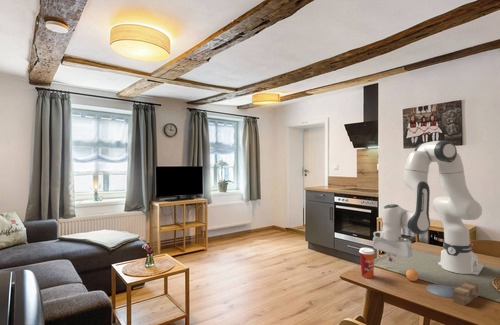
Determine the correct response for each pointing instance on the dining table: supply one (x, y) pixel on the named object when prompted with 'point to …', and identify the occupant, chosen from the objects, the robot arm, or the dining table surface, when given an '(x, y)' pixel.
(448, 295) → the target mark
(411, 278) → the ball
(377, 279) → the dining table surface
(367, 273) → the paper cup
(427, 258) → the dining table surface
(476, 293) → the block
